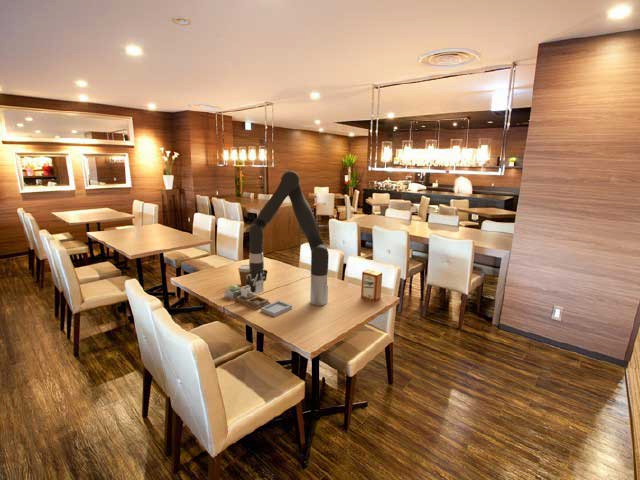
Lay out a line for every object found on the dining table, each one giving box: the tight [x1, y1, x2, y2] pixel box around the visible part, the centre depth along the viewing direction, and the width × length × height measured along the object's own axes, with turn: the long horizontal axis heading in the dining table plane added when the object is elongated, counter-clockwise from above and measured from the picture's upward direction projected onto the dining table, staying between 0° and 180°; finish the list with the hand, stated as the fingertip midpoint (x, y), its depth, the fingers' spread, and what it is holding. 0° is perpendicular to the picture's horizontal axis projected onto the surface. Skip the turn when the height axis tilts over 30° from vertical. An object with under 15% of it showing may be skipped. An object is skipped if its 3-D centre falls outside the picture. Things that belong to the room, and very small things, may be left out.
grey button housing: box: [224, 286, 241, 302], centre depth 188 cm, size 8×8×4 cm
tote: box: [260, 300, 293, 318], centre depth 173 cm, size 13×10×2 cm
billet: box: [250, 279, 264, 296], centre depth 177 cm, size 5×5×7 cm
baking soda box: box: [360, 269, 383, 302], centre depth 191 cm, size 10×6×16 cm
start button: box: [230, 284, 238, 291], centre depth 188 cm, size 3×3×4 cm
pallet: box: [234, 294, 271, 311], centre depth 181 cm, size 10×18×2 cm, turn 53°
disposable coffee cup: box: [237, 264, 250, 287], centre depth 207 cm, size 10×10×12 cm
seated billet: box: [240, 285, 255, 300], centre depth 183 cm, size 5×5×7 cm
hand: (256, 290), depth 177 cm, fingers closed on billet, 5 cm apart
